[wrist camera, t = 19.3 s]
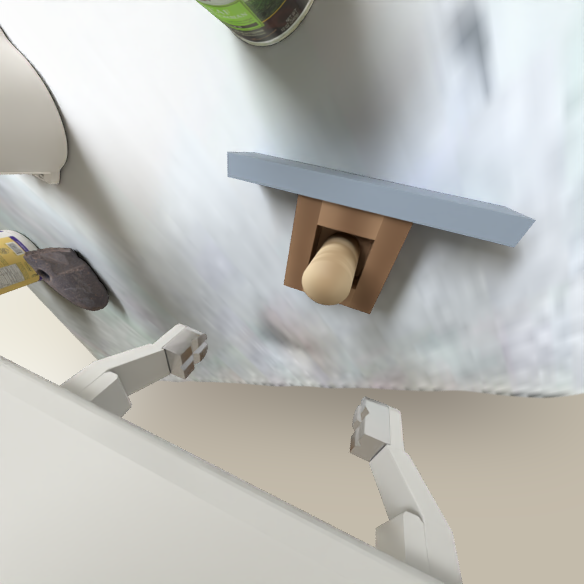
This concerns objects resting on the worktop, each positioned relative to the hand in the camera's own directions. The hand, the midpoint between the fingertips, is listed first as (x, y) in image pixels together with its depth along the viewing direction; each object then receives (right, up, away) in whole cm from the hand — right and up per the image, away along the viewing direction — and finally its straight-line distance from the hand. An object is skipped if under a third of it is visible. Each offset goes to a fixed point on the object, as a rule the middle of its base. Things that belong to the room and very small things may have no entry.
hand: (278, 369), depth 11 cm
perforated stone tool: (-42, +8, +36) cm, 56 cm away
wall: (+8, +14, +11) cm, 20 cm away
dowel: (+6, +8, +13) cm, 17 cm away
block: (+7, +9, +15) cm, 19 cm away
